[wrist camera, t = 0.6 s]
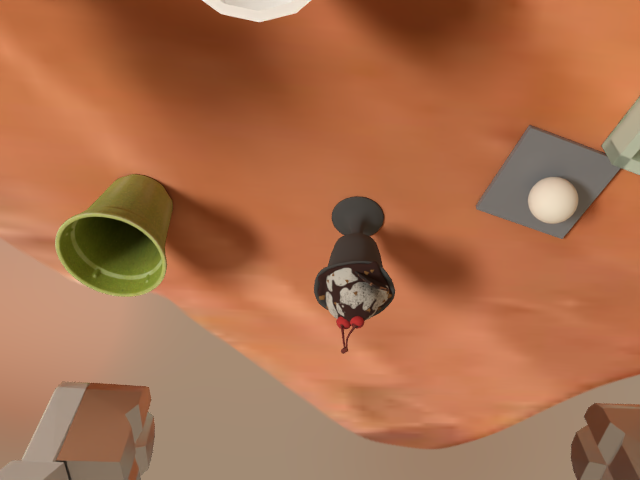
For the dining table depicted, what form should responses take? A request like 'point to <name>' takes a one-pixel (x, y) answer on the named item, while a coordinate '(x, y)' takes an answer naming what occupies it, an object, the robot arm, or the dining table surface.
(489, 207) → the coaster
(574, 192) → the ball
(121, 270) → the plant pot
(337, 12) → the dining table surface
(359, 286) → the sundae
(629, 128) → the tray
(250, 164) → the dining table surface
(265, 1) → the foam cup
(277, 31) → the dining table surface
